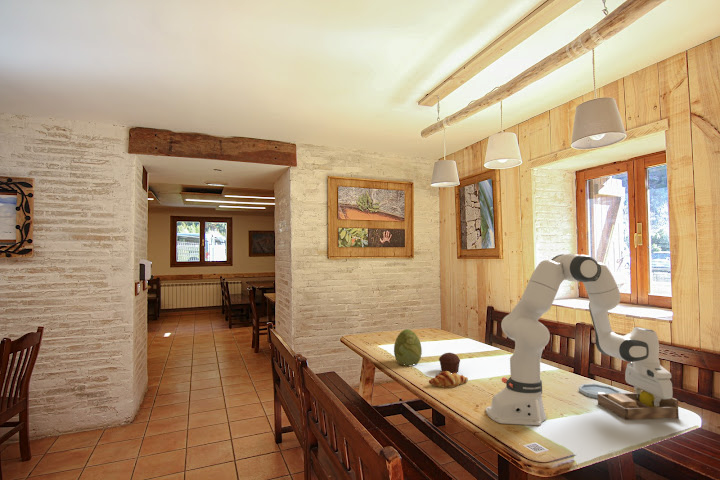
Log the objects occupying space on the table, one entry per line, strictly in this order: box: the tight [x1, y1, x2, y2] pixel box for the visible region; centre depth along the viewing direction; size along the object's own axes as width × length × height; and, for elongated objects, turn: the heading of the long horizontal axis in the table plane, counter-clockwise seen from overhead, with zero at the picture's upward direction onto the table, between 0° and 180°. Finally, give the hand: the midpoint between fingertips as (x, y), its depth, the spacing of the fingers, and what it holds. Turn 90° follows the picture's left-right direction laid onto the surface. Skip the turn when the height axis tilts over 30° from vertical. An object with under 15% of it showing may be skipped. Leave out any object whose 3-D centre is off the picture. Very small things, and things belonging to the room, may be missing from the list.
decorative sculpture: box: [393, 328, 423, 366], centre depth 224 cm, size 16×16×20 cm
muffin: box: [438, 352, 461, 374], centre depth 207 cm, size 12×11×10 cm
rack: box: [597, 390, 680, 421], centre depth 153 cm, size 21×16×7 cm
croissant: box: [428, 371, 469, 388], centre depth 187 cm, size 21×10×8 cm, turn 106°
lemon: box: [639, 390, 655, 407], centre depth 153 cm, size 6×6×8 cm
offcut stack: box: [608, 394, 639, 408], centre depth 153 cm, size 6×9×5 cm
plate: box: [578, 383, 622, 400], centre depth 172 cm, size 16×16×2 cm
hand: (647, 402), depth 153 cm, fingers open, 6 cm apart
